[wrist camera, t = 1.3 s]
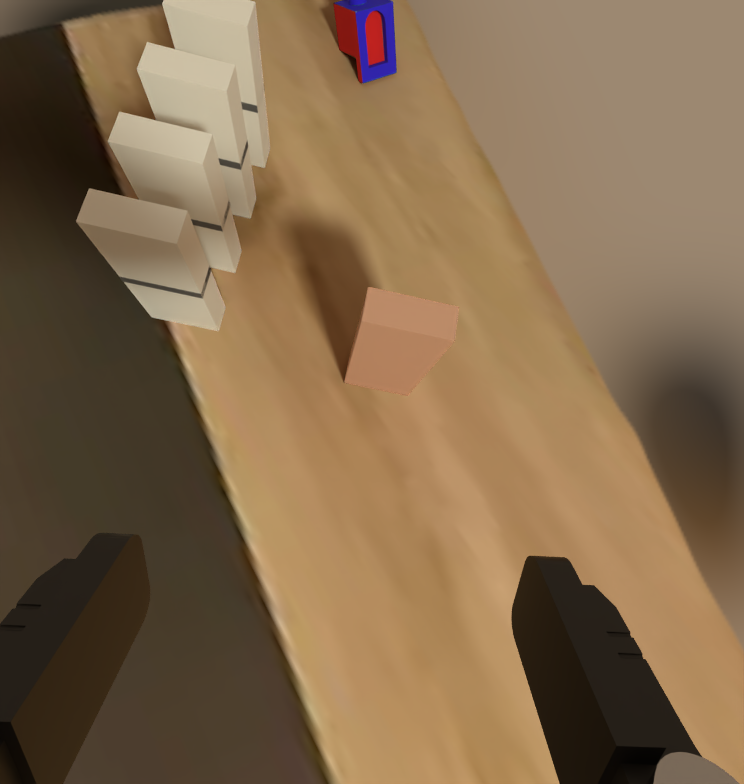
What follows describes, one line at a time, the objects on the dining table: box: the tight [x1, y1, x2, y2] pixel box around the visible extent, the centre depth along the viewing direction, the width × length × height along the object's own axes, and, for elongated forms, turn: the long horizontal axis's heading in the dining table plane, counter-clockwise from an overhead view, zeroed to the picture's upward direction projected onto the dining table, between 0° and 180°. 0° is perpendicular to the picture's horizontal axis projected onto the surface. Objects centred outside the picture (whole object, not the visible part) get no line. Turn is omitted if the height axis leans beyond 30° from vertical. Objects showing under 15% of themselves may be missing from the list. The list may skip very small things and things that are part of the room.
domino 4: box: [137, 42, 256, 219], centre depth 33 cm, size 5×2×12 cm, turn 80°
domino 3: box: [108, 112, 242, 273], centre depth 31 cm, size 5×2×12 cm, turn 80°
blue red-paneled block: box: [334, 0, 397, 83], centre depth 41 cm, size 4×4×8 cm
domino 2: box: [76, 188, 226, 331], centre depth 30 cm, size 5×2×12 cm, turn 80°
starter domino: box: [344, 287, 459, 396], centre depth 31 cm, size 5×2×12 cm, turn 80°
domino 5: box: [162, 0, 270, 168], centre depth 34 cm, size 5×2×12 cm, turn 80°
